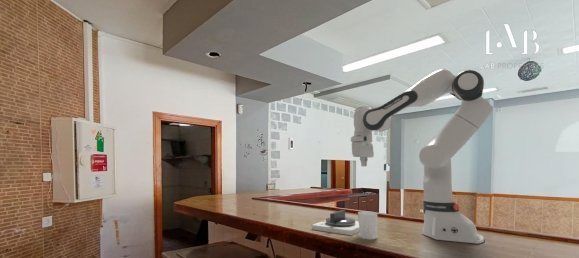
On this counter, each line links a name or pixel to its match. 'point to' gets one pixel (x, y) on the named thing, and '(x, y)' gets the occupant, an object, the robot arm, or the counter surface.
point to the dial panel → (337, 228)
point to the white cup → (367, 224)
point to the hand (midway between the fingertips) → (364, 166)
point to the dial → (339, 219)
